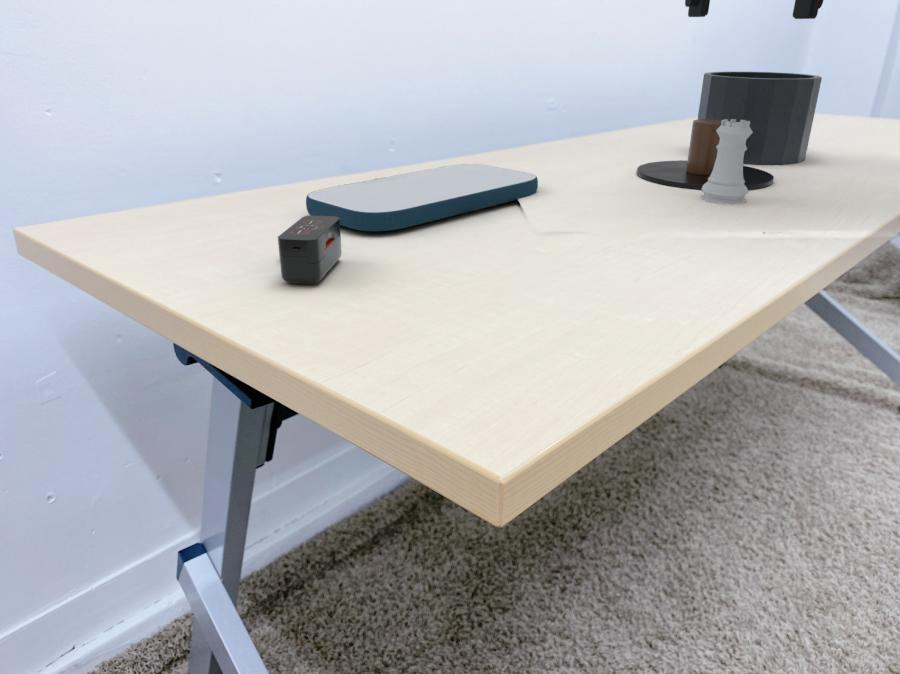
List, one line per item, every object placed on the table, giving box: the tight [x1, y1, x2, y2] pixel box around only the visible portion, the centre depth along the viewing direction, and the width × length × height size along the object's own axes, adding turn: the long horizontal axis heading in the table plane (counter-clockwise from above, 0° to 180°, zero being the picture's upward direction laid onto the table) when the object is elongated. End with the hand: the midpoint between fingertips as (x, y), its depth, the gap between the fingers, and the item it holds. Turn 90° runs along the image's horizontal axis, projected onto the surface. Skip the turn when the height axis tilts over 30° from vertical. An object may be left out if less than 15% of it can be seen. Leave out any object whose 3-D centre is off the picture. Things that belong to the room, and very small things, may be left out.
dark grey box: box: [277, 215, 343, 285], centre depth 50 cm, size 5×7×3 cm, turn 173°
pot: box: [697, 71, 823, 166], centre depth 91 cm, size 14×14×10 cm
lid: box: [636, 119, 775, 191], centre depth 79 cm, size 15×15×7 cm
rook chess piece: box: [699, 119, 753, 206], centre depth 68 cm, size 4×4×8 cm
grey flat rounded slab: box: [305, 163, 539, 232], centre depth 69 cm, size 24×12×2 cm, turn 136°
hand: (750, 17), depth 63 cm, fingers open, 9 cm apart
